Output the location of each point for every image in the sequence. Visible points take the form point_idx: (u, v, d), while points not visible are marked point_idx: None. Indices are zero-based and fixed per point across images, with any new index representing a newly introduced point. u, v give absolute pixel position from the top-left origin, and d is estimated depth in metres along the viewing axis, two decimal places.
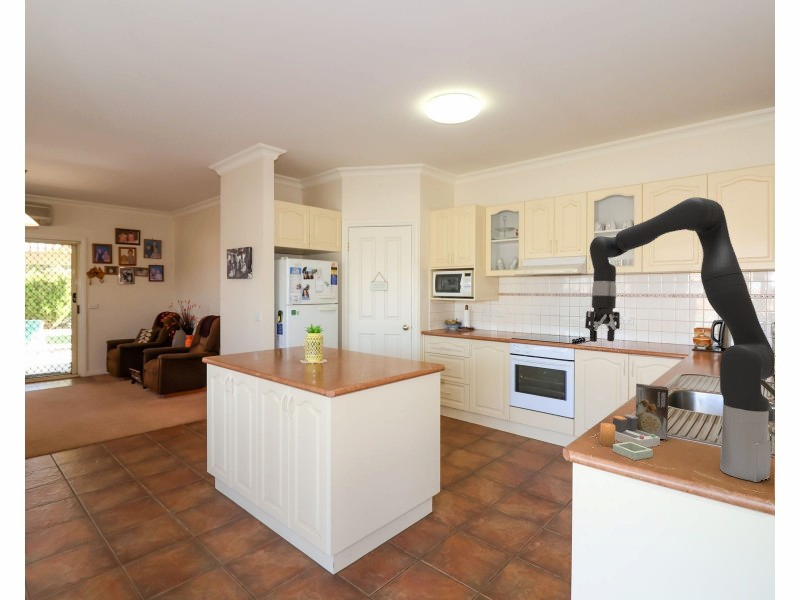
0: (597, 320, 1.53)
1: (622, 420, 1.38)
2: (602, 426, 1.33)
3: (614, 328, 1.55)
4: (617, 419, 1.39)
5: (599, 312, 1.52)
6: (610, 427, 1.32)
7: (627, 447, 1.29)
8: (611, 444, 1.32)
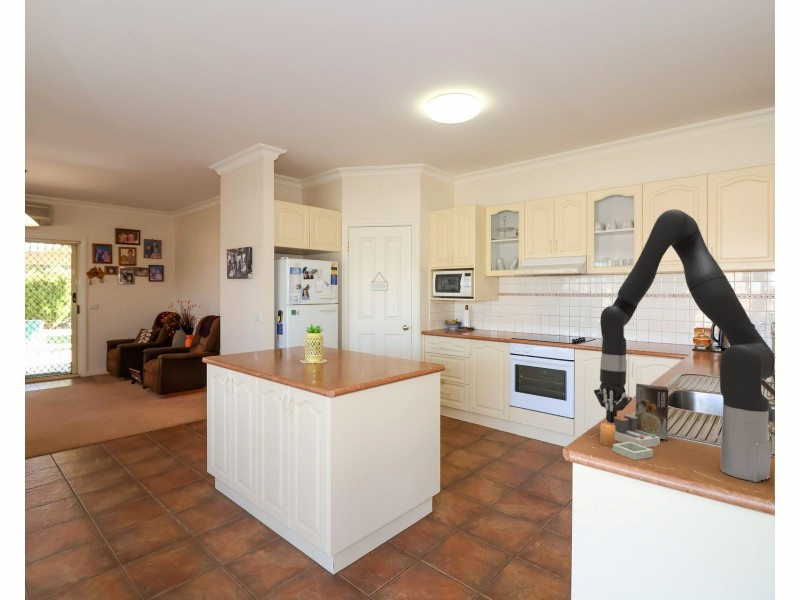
0: None
1: (623, 420, 1.37)
2: (602, 426, 1.33)
3: None
4: (618, 419, 1.38)
5: None
6: (610, 427, 1.32)
7: (627, 447, 1.29)
8: (611, 444, 1.32)
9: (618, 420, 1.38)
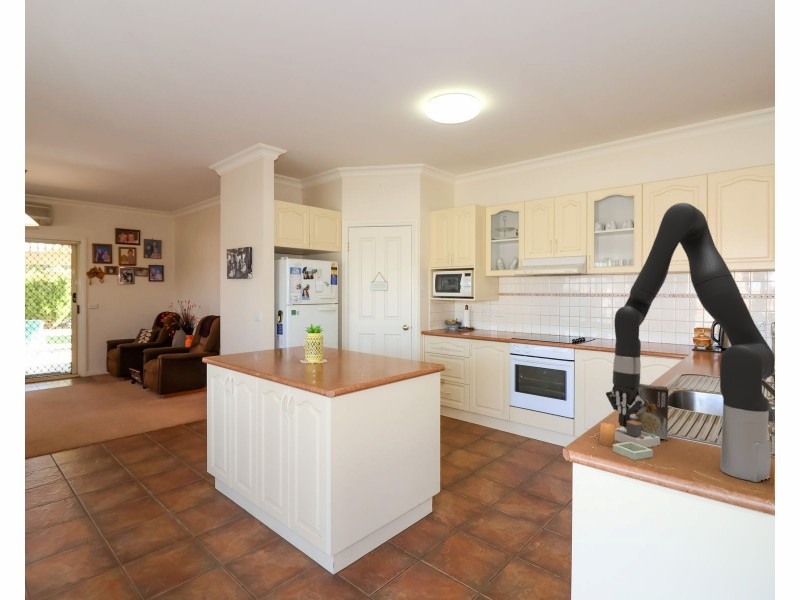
0: None
1: (636, 424, 1.33)
2: (602, 426, 1.33)
3: None
4: (631, 424, 1.34)
5: None
6: (610, 427, 1.32)
7: (627, 447, 1.29)
8: (611, 444, 1.32)
9: (631, 424, 1.34)
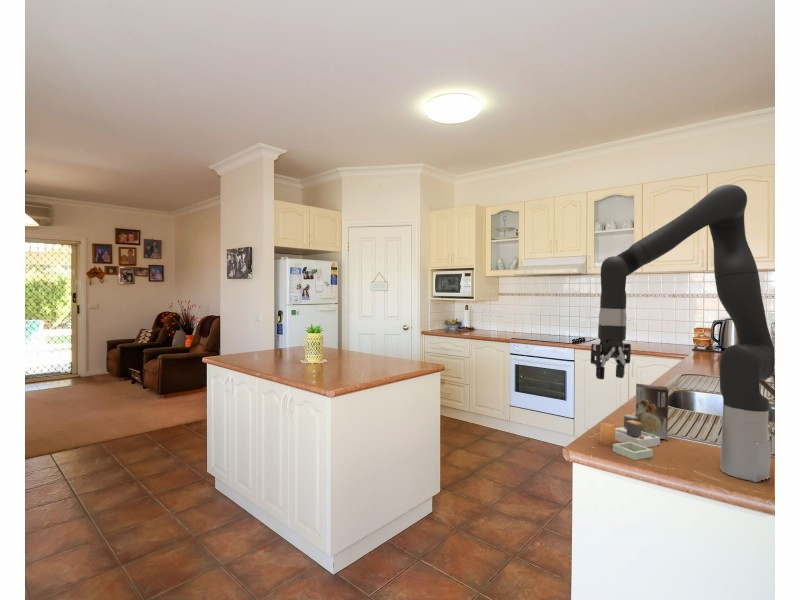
0: None
1: (636, 424, 1.33)
2: (602, 426, 1.33)
3: None
4: (631, 424, 1.34)
5: None
6: (610, 427, 1.32)
7: (627, 447, 1.29)
8: (611, 444, 1.32)
9: (631, 424, 1.34)
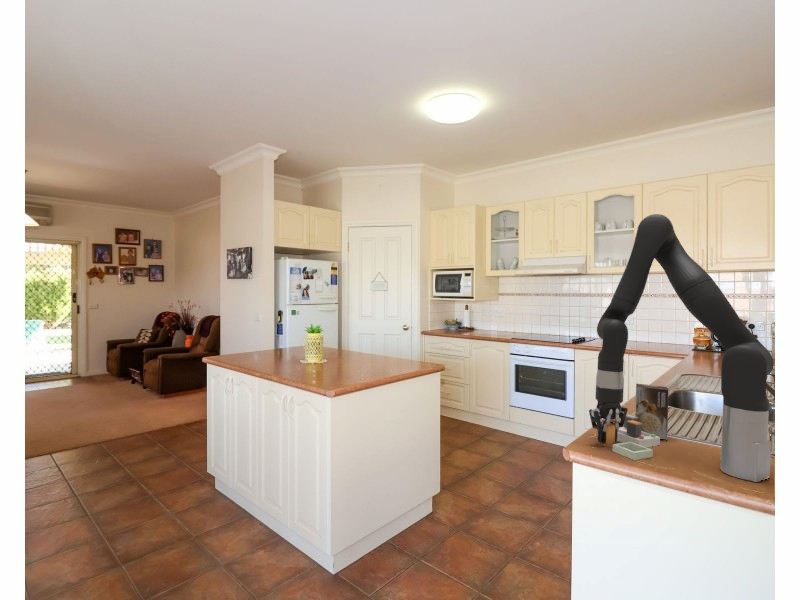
0: None
1: (636, 424, 1.33)
2: None
3: None
4: (631, 424, 1.34)
5: None
6: (610, 427, 1.32)
7: (627, 447, 1.29)
8: (611, 444, 1.32)
9: (631, 424, 1.34)
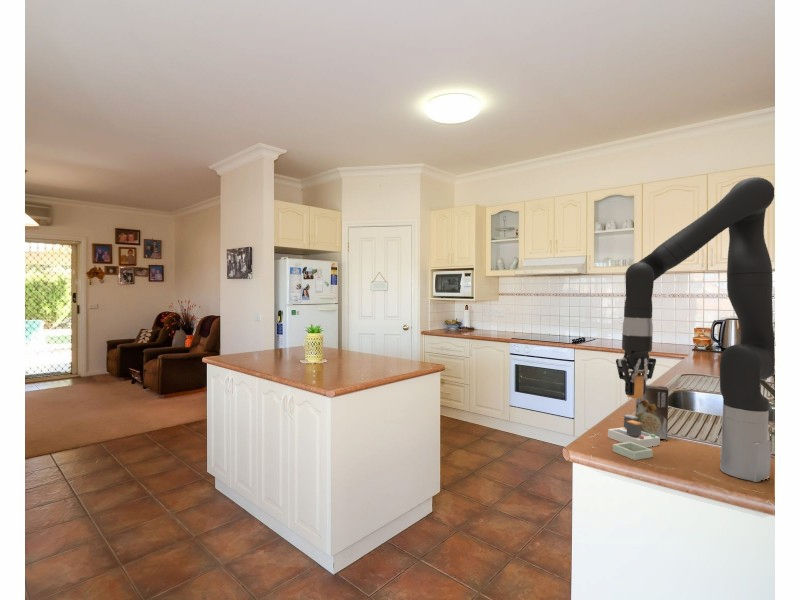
0: None
1: (636, 424, 1.33)
2: None
3: None
4: (631, 424, 1.34)
5: None
6: (638, 378, 1.24)
7: (627, 447, 1.29)
8: (639, 396, 1.24)
9: (631, 424, 1.34)
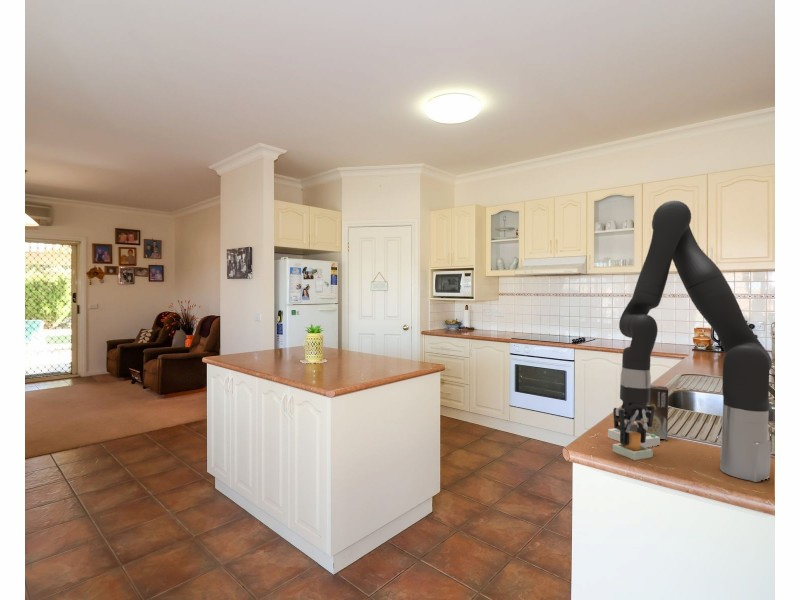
0: None
1: (636, 424, 1.33)
2: None
3: None
4: None
5: None
6: (635, 436, 1.24)
7: None
8: None
9: None
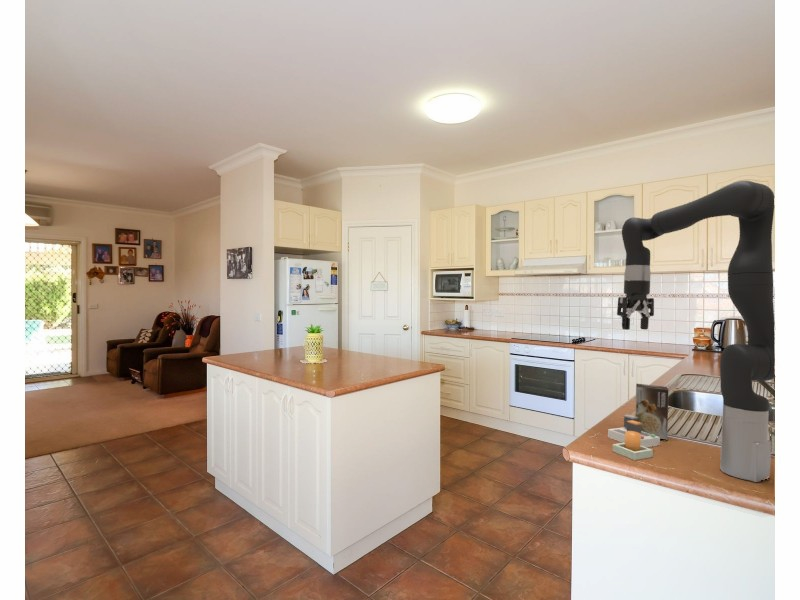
0: None
1: (636, 424, 1.33)
2: (627, 435, 1.25)
3: None
4: (631, 424, 1.34)
5: None
6: (636, 436, 1.24)
7: None
8: None
9: (631, 424, 1.34)
